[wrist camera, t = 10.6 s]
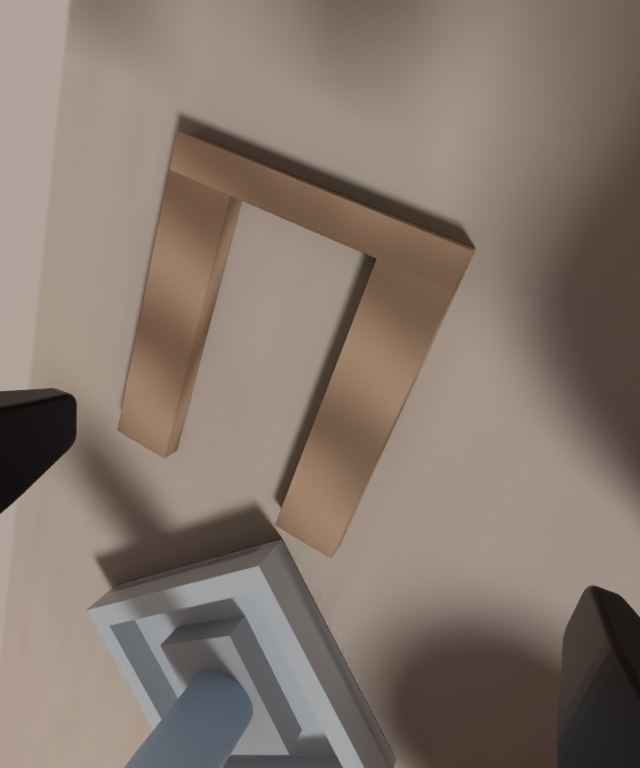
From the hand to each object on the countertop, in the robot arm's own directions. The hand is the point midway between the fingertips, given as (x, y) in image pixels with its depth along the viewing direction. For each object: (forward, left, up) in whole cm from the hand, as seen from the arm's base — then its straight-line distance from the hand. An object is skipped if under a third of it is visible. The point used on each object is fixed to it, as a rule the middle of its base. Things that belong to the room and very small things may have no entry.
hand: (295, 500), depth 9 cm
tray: (-12, +18, -13) cm, 25 cm away
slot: (+2, +7, -13) cm, 15 cm away
